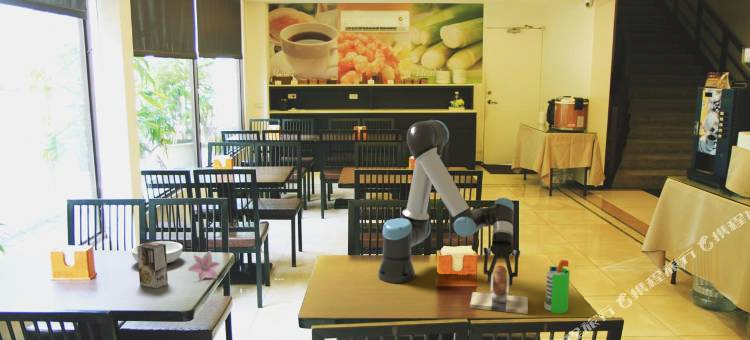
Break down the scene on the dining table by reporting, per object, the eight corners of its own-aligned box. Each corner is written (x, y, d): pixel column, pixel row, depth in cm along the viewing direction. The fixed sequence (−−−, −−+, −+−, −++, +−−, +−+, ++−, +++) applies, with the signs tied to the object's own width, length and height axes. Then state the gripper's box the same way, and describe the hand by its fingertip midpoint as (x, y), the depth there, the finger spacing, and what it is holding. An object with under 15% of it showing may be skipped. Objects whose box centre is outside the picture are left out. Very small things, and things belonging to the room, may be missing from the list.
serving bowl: (173, 270, 242) (172, 255, 241) (124, 270, 243) (123, 254, 242) (189, 255, 263) (189, 241, 262) (144, 254, 263) (143, 240, 262)
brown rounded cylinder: (491, 302, 208) (493, 267, 205) (492, 297, 213) (493, 263, 210) (506, 304, 206) (508, 268, 204) (506, 298, 211) (508, 264, 209)
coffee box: (168, 283, 228) (166, 244, 225) (156, 288, 222) (154, 248, 219) (151, 279, 231) (149, 241, 229) (138, 285, 226) (136, 245, 223)
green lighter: (540, 303, 211) (543, 256, 208) (561, 302, 212) (564, 255, 209) (549, 313, 202) (552, 264, 199) (572, 312, 203) (575, 264, 200)
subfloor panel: (470, 308, 206) (470, 304, 206) (472, 295, 218) (472, 292, 217) (527, 313, 202) (527, 309, 201) (526, 301, 213) (527, 297, 213)
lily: (183, 283, 231) (188, 266, 226) (190, 263, 241) (195, 247, 236) (213, 290, 234) (218, 273, 229) (218, 270, 244) (224, 254, 239)
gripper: (526, 242, 219) (524, 299, 206) (478, 238, 223) (474, 294, 210) (527, 232, 213) (525, 290, 200) (478, 229, 217) (473, 286, 204)
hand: (499, 292), depth 205 cm, fingers open, 5 cm apart
